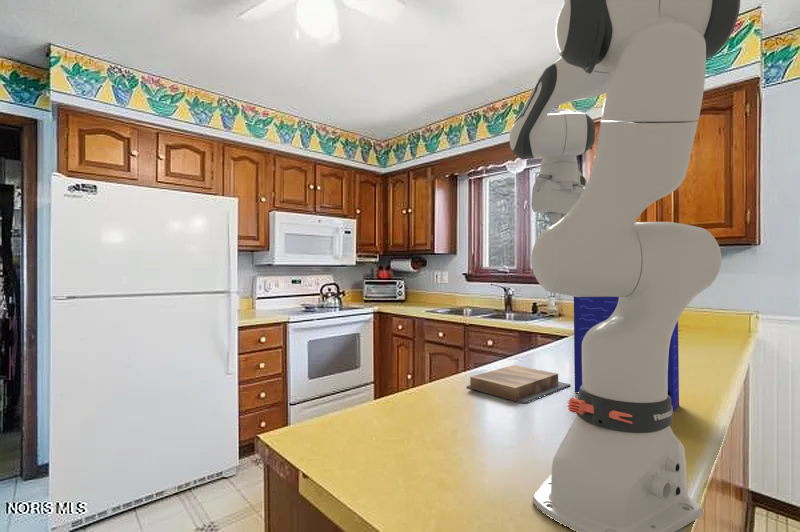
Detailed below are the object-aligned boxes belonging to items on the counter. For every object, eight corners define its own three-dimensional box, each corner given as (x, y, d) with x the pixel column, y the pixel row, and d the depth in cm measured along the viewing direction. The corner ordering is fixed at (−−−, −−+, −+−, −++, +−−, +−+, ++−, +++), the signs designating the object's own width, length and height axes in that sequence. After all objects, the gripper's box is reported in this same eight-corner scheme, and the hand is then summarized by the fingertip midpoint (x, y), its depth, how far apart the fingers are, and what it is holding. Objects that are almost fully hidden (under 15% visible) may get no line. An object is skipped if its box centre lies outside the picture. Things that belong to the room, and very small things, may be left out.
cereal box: (679, 405, 97) (677, 276, 97) (673, 412, 93) (671, 277, 93) (583, 387, 112) (582, 276, 112) (574, 392, 108) (573, 276, 108)
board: (515, 387, 100) (558, 373, 113) (470, 376, 111) (513, 364, 124) (515, 400, 100) (558, 384, 113) (470, 388, 111) (514, 375, 124)
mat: (525, 403, 99) (525, 401, 99) (466, 387, 113) (466, 385, 113) (570, 386, 113) (570, 384, 113) (513, 373, 127) (513, 372, 127)
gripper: (548, 169, 96) (549, 229, 95) (589, 181, 109) (590, 233, 109) (524, 174, 100) (525, 231, 100) (566, 184, 114) (567, 235, 114)
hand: (559, 232), depth 105 cm, fingers closed
